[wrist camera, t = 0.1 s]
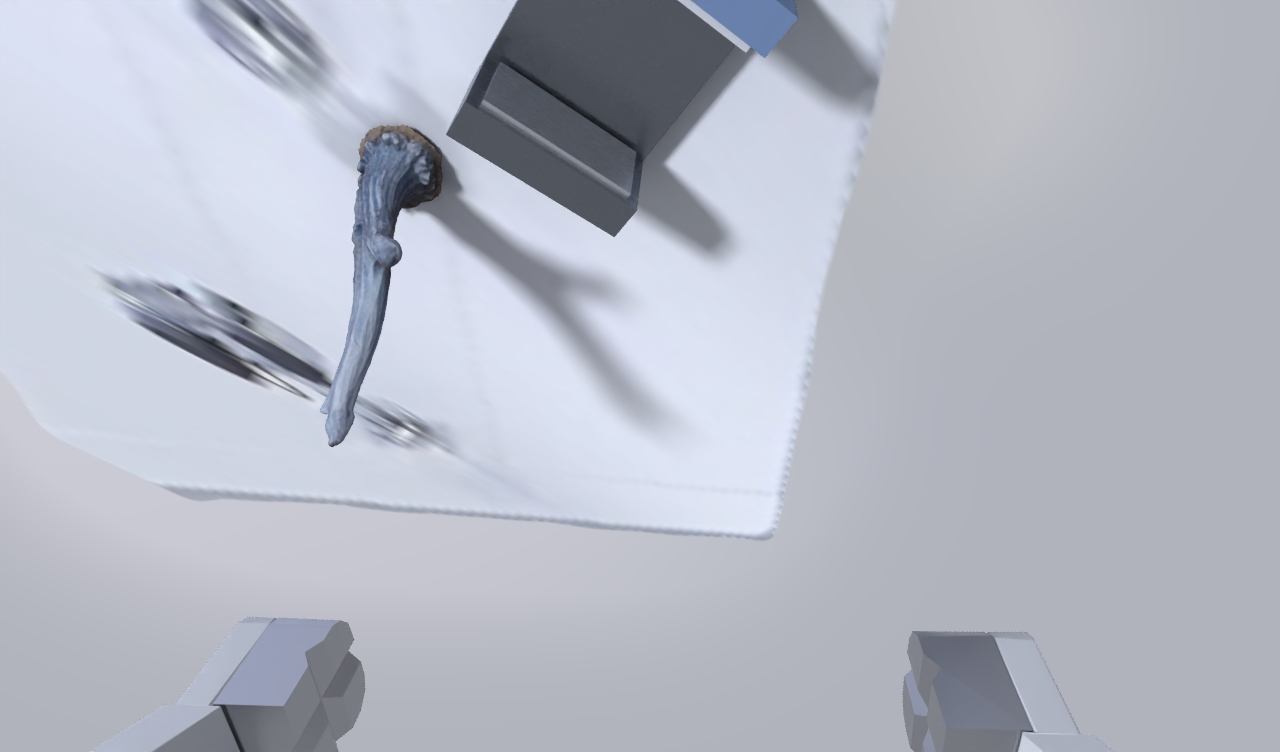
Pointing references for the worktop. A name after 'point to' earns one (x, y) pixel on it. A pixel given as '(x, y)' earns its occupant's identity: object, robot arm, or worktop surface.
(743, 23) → the sliding jaw
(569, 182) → the base
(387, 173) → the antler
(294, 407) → the worktop surface
